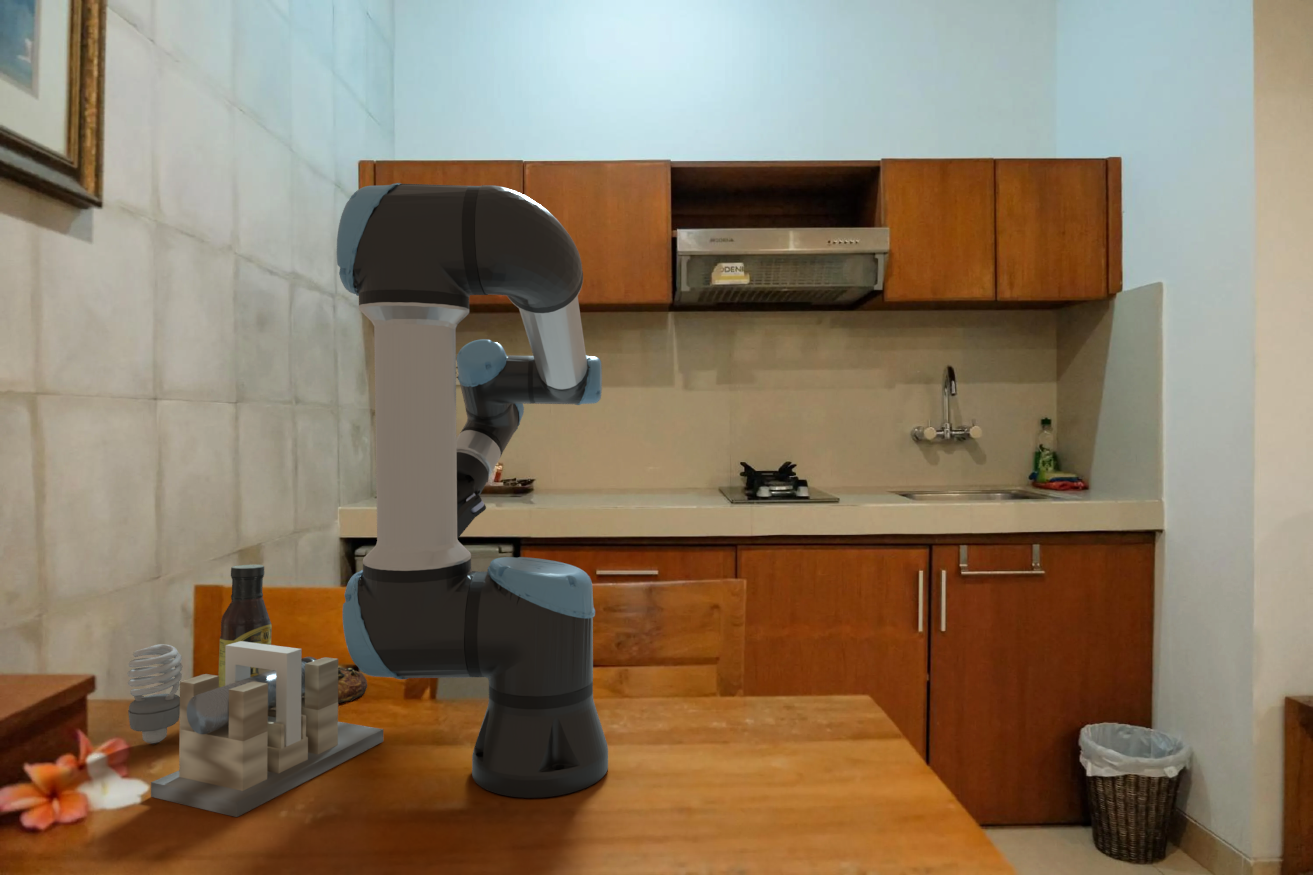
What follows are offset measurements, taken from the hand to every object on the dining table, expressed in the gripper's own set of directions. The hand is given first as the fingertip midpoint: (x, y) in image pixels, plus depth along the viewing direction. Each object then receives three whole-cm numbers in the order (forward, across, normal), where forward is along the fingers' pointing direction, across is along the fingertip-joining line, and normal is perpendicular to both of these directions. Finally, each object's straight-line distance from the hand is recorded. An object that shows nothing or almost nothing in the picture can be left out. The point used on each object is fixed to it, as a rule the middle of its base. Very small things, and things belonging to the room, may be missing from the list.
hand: (395, 589), depth 108 cm
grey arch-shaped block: (+25, 0, +6) cm, 25 cm away
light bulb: (+26, +19, +2) cm, 33 cm away
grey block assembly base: (+26, 0, +2) cm, 26 cm away
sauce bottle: (+18, +18, -6) cm, 26 cm away
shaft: (+23, 0, +9) cm, 25 cm away
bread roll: (+11, +14, -13) cm, 22 cm away
